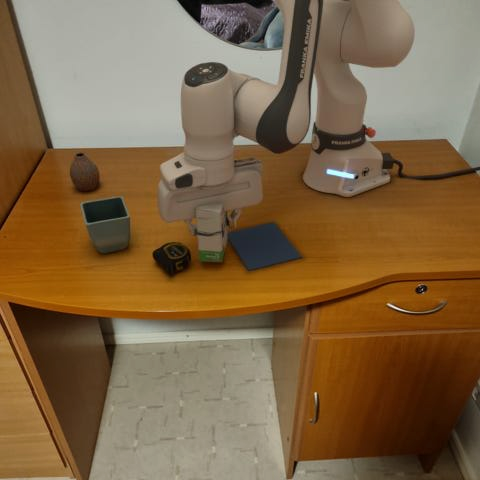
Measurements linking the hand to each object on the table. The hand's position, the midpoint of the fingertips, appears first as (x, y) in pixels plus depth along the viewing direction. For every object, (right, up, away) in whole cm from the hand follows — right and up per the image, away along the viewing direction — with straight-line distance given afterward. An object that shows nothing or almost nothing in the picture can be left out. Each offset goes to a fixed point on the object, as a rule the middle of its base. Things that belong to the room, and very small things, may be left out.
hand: (212, 230), depth 96 cm
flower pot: (-22, -2, +8) cm, 24 cm away
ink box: (0, -4, +3) cm, 5 cm away
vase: (-33, +15, +26) cm, 44 cm away
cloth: (+10, -2, +8) cm, 13 cm away
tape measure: (-8, -7, +3) cm, 11 cm away
